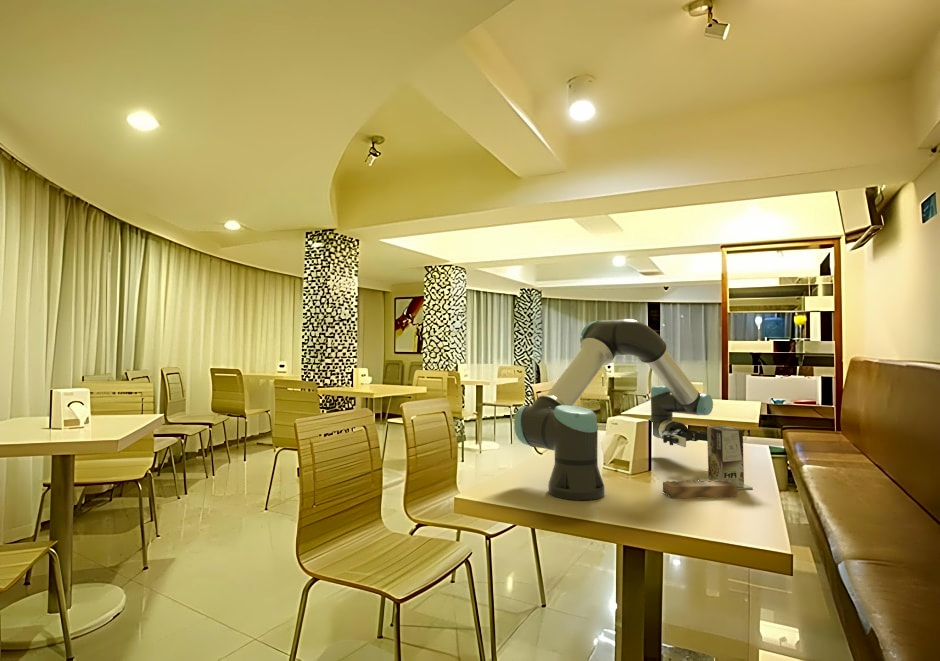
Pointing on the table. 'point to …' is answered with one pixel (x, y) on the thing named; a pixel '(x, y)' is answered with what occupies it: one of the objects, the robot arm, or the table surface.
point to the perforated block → (699, 489)
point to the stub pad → (737, 487)
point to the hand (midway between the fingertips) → (705, 442)
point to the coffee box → (725, 454)
